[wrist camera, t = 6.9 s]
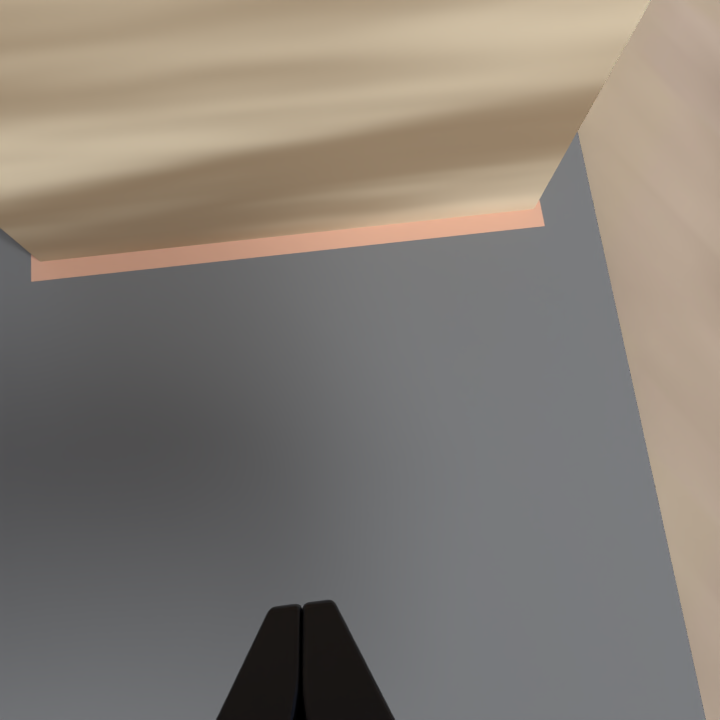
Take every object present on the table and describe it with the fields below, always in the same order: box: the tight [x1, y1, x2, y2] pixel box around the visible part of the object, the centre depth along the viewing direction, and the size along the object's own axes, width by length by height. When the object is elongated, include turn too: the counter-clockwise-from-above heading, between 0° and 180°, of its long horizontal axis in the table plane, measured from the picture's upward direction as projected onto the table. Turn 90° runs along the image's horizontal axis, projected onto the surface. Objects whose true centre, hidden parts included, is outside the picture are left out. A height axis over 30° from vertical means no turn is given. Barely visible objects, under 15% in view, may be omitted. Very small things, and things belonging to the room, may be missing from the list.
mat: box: [0, 131, 706, 720], centre depth 16 cm, size 26×17×1 cm, turn 7°
